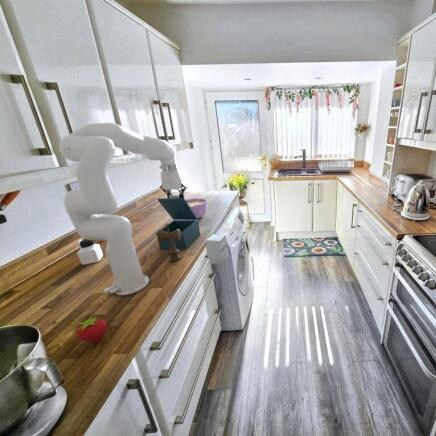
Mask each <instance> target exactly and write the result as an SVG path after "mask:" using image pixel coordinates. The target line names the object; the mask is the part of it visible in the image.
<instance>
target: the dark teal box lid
mask: <svg viewBox="0 0 436 436" xmlns="http://www.w3.org/2000/svg"><path fill="white" fill-rule="evenodd" d="M156 200H157V201H158V202H159V204H160V205H161V207H162V208H163V209H164V210H165V211H166V212H167V214H168V215H169V216H170V218H171V219H172V221H173V220H198V219H199V218H197V217H196V215H195V214H194V212H193V211H192V209H191V208H190V206H189V205H188V203H187V202H186V200H187V199H185V197H184V198H180V197H179V194H172V195H169V198H168V197H165V198H164V197H163V198H162V197H161V198H159V197H158V198H157V199H156Z"/></svg>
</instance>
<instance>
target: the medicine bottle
mask: <svg viewBox="0 0 436 436" xmlns="http://www.w3.org/2000/svg"><path fill="white" fill-rule="evenodd" d="M77 245H78V247H79V250H78V251H77V252H76V254H77V257H78V259H79V261H80V264H81V265H82V266H85V265H90V264H95V263H99V262H100V261H101V259H102V258H103V257H104V254H103V250H102V248H101V245H100V243H96V242H95V240H87V239H84V238H81V239H79V240H78V241H77Z"/></svg>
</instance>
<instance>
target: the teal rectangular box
mask: <svg viewBox="0 0 436 436" xmlns="http://www.w3.org/2000/svg"><path fill="white" fill-rule="evenodd" d="M167 224H168V227H169V230H170V232H173V231H175V230H177V229H180V231H181V239H180V240H175V239H173V238H172V240H173V243H174V245H175V247H176V249H178V250H187V249H188V248H189V247H190V246H191V245H193V243H194V242H195V241H196V240H197V239H198V238H199V237H201V230H200V226H199V220H198V219H197V220H173V219H172V220H171V221H170V222H169V223H167ZM160 229H161V230H163V231H165V232H168V231H167V227H166V225H164V226H163V227H162V228H160ZM157 232H158V230H157V231H156V232H155V234H156V236H157ZM157 242H158V246H159V249H160V250H170V244H169V238H167V239H165V240H163V241H162V242H159V241H158V240H157Z"/></svg>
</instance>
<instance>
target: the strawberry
mask: <svg viewBox="0 0 436 436" xmlns="http://www.w3.org/2000/svg"><path fill="white" fill-rule="evenodd" d="M78 324H79V327H77V329H76V330H75V331H76V332H75V333H76V337H77V338H78V339H80V340H81V341H83V342H88V343H94V344H96V343H99V342H101V340H102V338H103V337H104V336H105V334H106V332H107V330H108V323H107V322H106V320H104V319H100V318H98V317H97V316H96V317H93V318H92V317H91V316H90V317H89V318H88V319H84V321H83V322H80V323H78Z"/></svg>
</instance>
